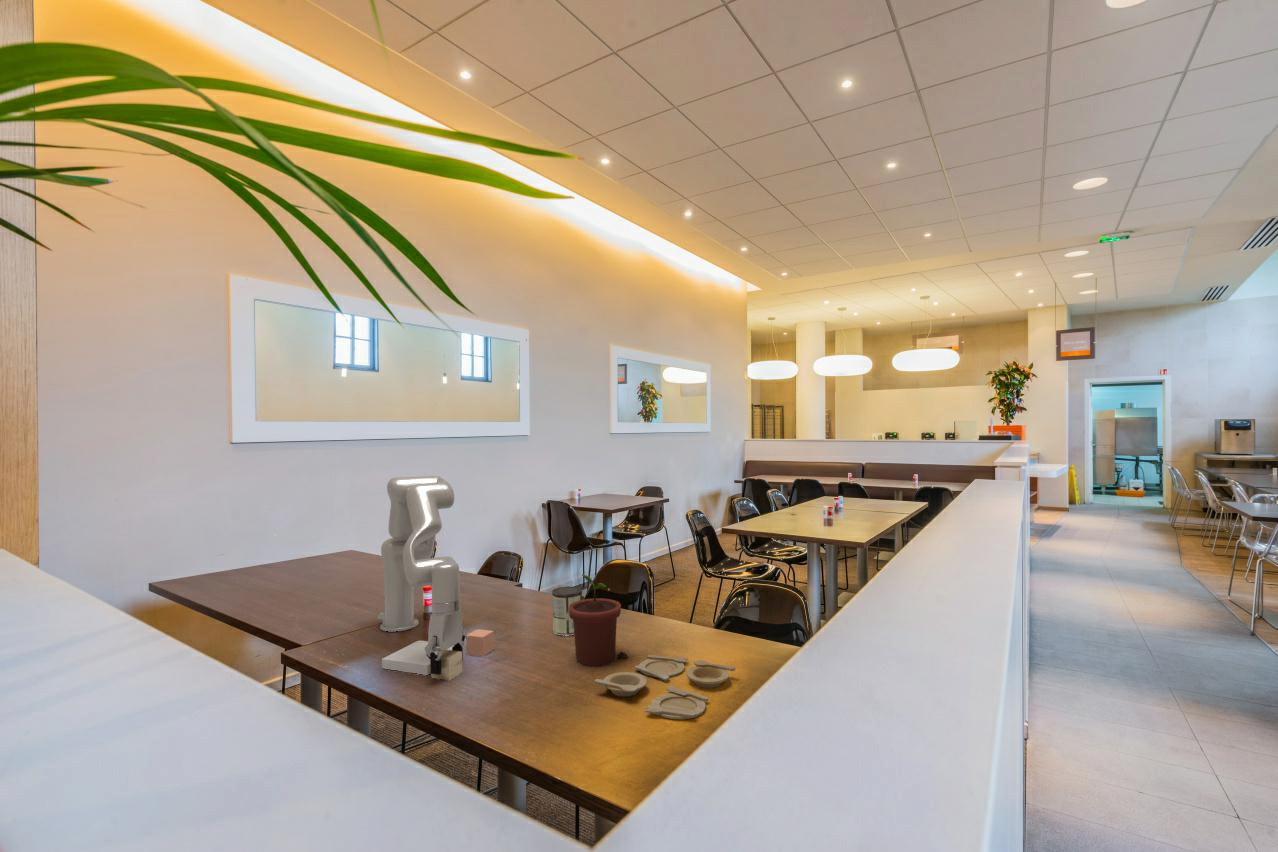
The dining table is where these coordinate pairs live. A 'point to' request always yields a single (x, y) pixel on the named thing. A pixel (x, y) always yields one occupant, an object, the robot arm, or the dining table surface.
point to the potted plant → (595, 629)
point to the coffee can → (564, 609)
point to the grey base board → (410, 659)
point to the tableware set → (678, 700)
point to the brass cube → (449, 665)
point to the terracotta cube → (479, 642)
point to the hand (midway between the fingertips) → (447, 667)
